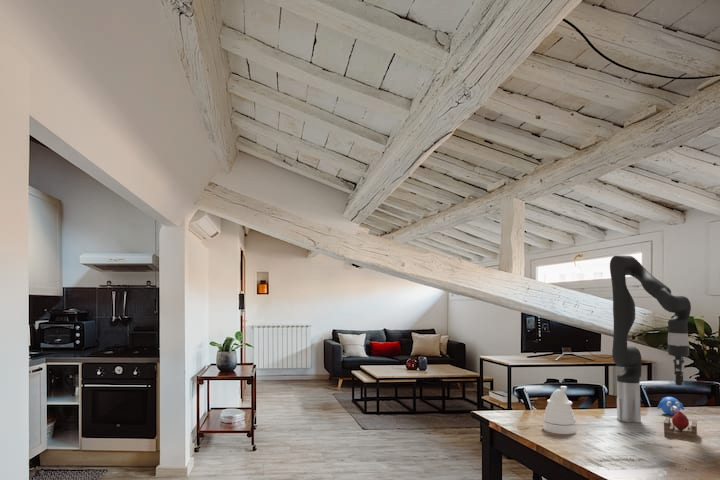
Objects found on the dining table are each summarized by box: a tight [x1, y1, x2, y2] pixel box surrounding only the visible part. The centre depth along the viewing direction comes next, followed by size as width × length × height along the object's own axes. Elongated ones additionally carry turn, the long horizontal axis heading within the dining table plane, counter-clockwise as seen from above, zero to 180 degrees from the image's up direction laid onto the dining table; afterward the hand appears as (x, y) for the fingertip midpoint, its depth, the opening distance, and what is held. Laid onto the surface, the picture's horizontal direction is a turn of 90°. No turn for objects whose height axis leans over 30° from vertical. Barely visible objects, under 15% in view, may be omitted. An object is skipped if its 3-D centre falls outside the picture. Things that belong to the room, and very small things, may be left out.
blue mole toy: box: [657, 396, 685, 416], centre depth 253 cm, size 12×12×8 cm
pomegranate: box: [671, 410, 690, 431], centre depth 216 cm, size 6×6×8 cm
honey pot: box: [542, 385, 577, 435], centre depth 222 cm, size 13×13×18 cm
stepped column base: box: [663, 416, 698, 442], centre depth 216 cm, size 12×11×6 cm
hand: (679, 383), depth 219 cm, fingers open, 8 cm apart
